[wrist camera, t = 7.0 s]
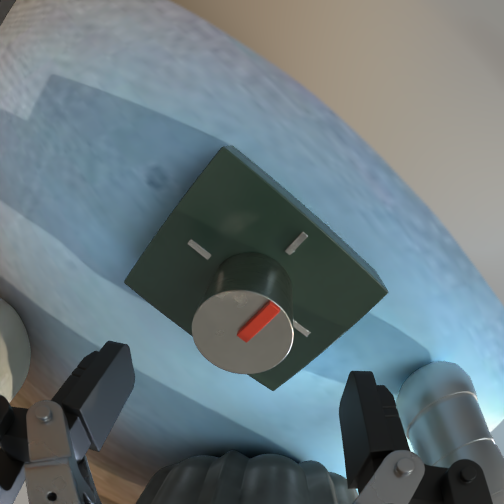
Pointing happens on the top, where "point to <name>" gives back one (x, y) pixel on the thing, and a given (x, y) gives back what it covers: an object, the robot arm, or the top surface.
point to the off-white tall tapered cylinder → (12, 351)
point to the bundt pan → (246, 482)
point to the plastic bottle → (449, 422)
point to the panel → (263, 242)
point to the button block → (5, 8)
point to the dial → (246, 315)
